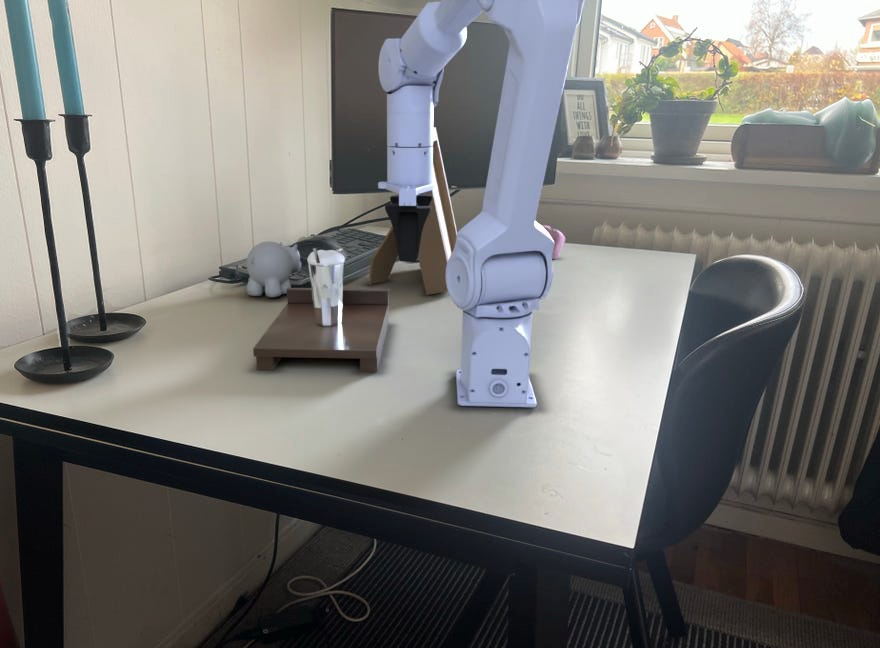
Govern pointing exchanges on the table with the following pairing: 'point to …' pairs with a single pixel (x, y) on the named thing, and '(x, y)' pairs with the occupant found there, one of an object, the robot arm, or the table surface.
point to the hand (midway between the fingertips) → (409, 254)
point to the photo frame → (425, 235)
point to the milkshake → (327, 285)
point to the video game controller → (555, 240)
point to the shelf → (327, 330)
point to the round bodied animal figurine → (271, 268)
